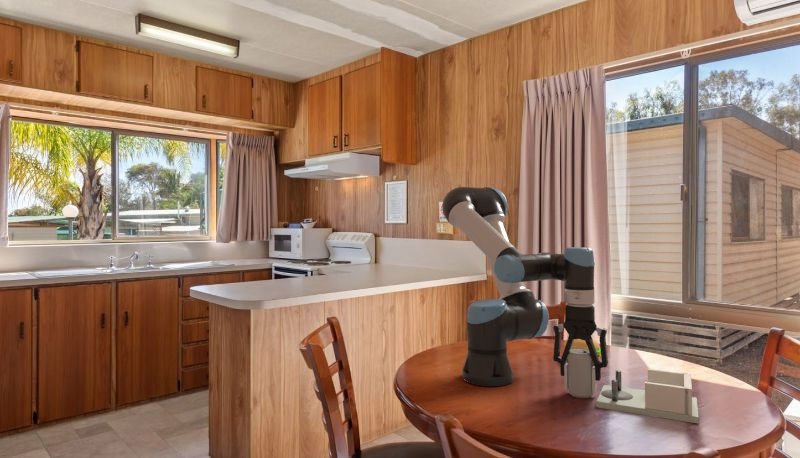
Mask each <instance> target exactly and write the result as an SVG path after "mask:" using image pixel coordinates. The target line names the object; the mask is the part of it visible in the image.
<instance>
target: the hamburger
mask: <svg viewBox="0 0 800 458" xmlns="http://www.w3.org/2000/svg"><path fill="white" fill-rule="evenodd" d="M592 340H593V344H594V346H595V349H596V352H597V355H598V358H599V360H600V359H601V350H600V343H599V342H598V340H596V339H595V338H594V337H592ZM565 346H566V344H565V345H564V349H565ZM571 349H585V350H589V349H588V346H587V344H586V342H585V340H581V339H574V341H573V343H572V346H571ZM571 349H570V350H571ZM593 366H594V363H593Z"/></svg>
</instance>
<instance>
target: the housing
mask: <svg viewBox="0 0 800 458" xmlns="http://www.w3.org/2000/svg"><path fill="white" fill-rule="evenodd" d="M644 390H645V408H649V409H656V410H662V411H669V412H675V413H682V414H688V415H692V397H693V388H692V374H691V373H689V372H681V371H672V370H663V369H656V368H647V381H645V382H644Z"/></svg>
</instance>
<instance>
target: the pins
mask: <svg viewBox="0 0 800 458" xmlns="http://www.w3.org/2000/svg"><path fill="white" fill-rule="evenodd" d="M611 386H612V401H618V390H619V391H621V390H622V387H623V386H622V371H621V370H615V379H612V380H611Z"/></svg>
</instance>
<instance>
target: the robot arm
mask: <svg viewBox="0 0 800 458" xmlns="http://www.w3.org/2000/svg"><path fill="white" fill-rule="evenodd" d="M508 207H509V206H508V200H507V198H506V196H505V194H504V193H503V192H502V191H501V190H499V189H498V188H496V187H495V188H494V187H493V188H492V187H489V186H488V187H487V186H484V187H474V186H473V187H471V186H469V187H468V186H458V187H455V188H453V189H451V190H450V191H448V192H447V194H446V195H445V196H444V198H443V200H442V205H441V208H442V209H441V210H442V213H443V216H444V218H445V220H446V221H447V222H448V223H449V224H450V225H451V226H452V227H454V228H458V229H459V230H460V231H461V232H462V233H463V234H464V235H465V236H466V237H467V238H468V239H469V240H470V241H471V242H472V243H473V244H474V245H475V246H476V247H477V248H478V249H479V250H480V251H481V252H482V253H483V254H484V255H485V256H486V257H487V258H486V259H487V260H488V264H489V266H490V269H491V272H492V275H493V278H494V281H495V284H496V288H497V290H498V293H499V298H489V299H488V298H486V299H480V300H476V301H473V302H472V303H470V304H469V305H468V307H467V314H466V322H467V323H466V324H467V329H466V330H467V331H466V332H467V353H466V357H465V360H464V364H463V367H462V371H461V376H462V377H463V379H465V380H466V381H468V382H470V383H473V384H472V385H474V384H476V385H475V386H479V385H481V387H502V386H506V385H510V384H511V383H513V382H514V371H513V367H512V365H511V362H510V360H509V359H510V358H509V355H508V349H507V348H508V347H507V346H508V344H507V343H508V342H514V341H521V340H531V339H533V338H539V337H541V336H542V335H543V334H544V333H545V332H546V330H547V328H548V325H549V321H550V316H549V315H550V314H549V310H548V307H547V306H546V304H545V302H543V301H542V300H540V299H536V298H535V295H534V292H533V290H531V289H528V288H527V287H526V285H525V282H533V281H534V282H537V281H550V280H551V281H553V280H554V281H562V282H564V303H565V306H564V322H563V323H560V324H557V323H556V324H555V325H554V326H553V332H554V344H553V358H552V359H553V361H554V362H557V363H559V364H560V365H559V366H560V369H559V370H560V376H561V377H563V378H564V379H563V380H564V381H563V382H564V384H563V385H564V390H568V362H567V361H568V354H569V350H570V349H571V346H572V343H573V341H574V339H581V340H585V342H586V344H587V346H588V349H589V352H590V355H591V358H592V360H593V363H594V365H593V368H592V393H593V395H595V394H596V393H597V390H598V389H597V388H598V385H597V382H599V381H600V380H601V379H602V378H601V377H602V376H601V375H602V374H601V373H602V370H601V369H602V368H607V367H608V365H609V359H608V357H609V356H608V349H607V337H606V336H607V333H608V329H607V328H606V327H600V326H598V325H597V324H596V321H595V318H596V317H595V316H596V315H595V308H596V307H595V306H594V304H595V257H594V251H593V249H592V248H591V247H583V246H581V247H579V246H575V247H574V246H571V247H566V248H564V251H563V252H564V253H553V252H539V253H527V254H523V253H522V252H521V251H520V250H519V249H517V248H516V247H515V246H514V245H513V244H512V243H511V242H510V240H509V237H508V234H507V231H506V229H505V226H504V223H505V221H506V216H507V214H508ZM564 330H565V331H566V332H567V334H568V338H567V340H566V344H565V345H566V346H565V345H564V347H565V348H564V349H563V352H562V354H561V345H562V344H561V343H562V333H563V331H564ZM595 332H596V333H597V336H598V337H599V346H600V350H601V357H599V358H598V355H597V352H596V349H595V346H594V344H593V340H592V338H593V337H592V335H593V334H594V333H595ZM560 354H561V355H560ZM599 359H601V361H600V360H599ZM462 377H461V378H462ZM463 379H462V380H463ZM466 381H465V382H466ZM468 382H467V383H468ZM470 383H469V384H470Z"/></svg>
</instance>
